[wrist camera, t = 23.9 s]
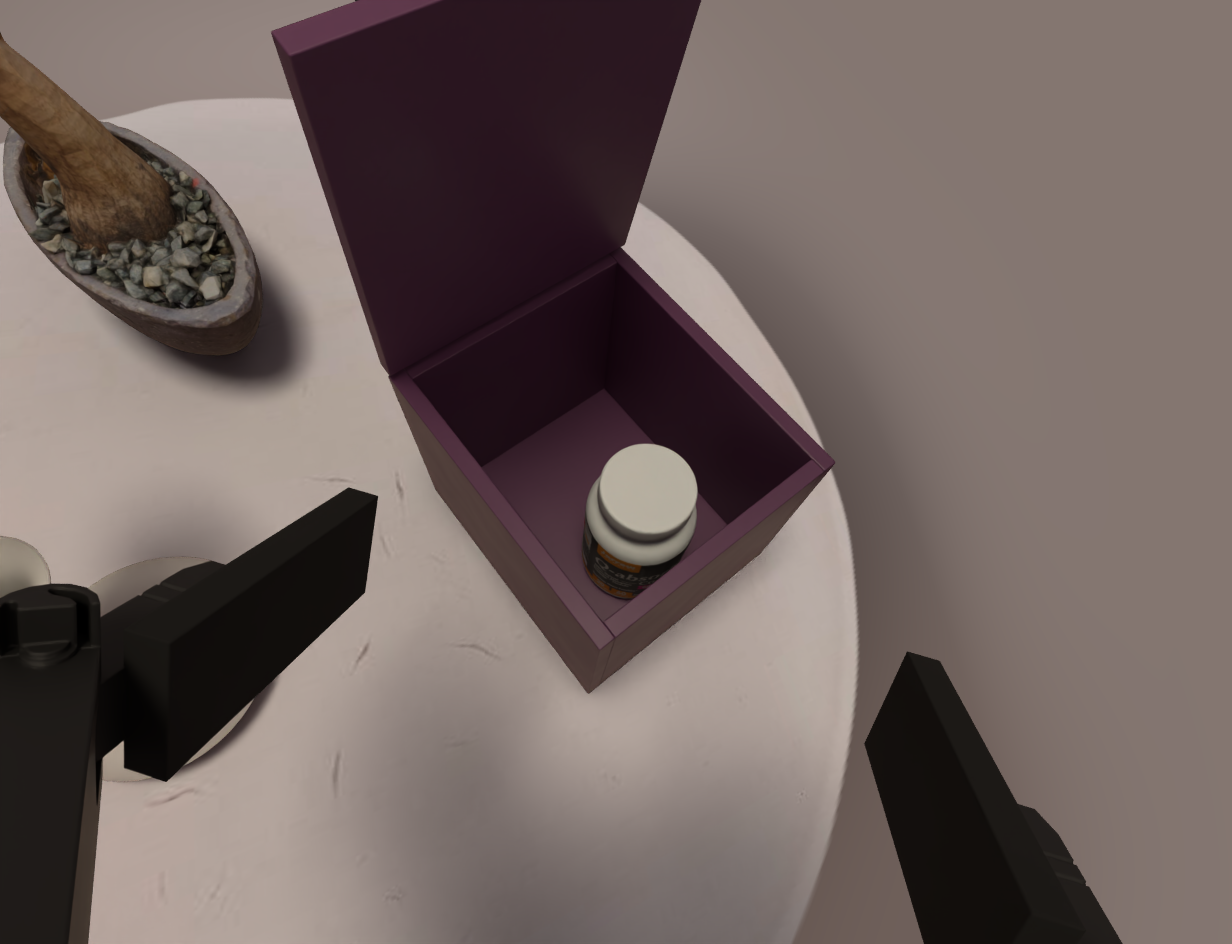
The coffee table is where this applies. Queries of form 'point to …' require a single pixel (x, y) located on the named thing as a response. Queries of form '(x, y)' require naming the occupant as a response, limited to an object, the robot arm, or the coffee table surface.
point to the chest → (601, 450)
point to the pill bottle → (638, 519)
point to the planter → (126, 219)
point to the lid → (478, 146)
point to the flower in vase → (21, 565)
